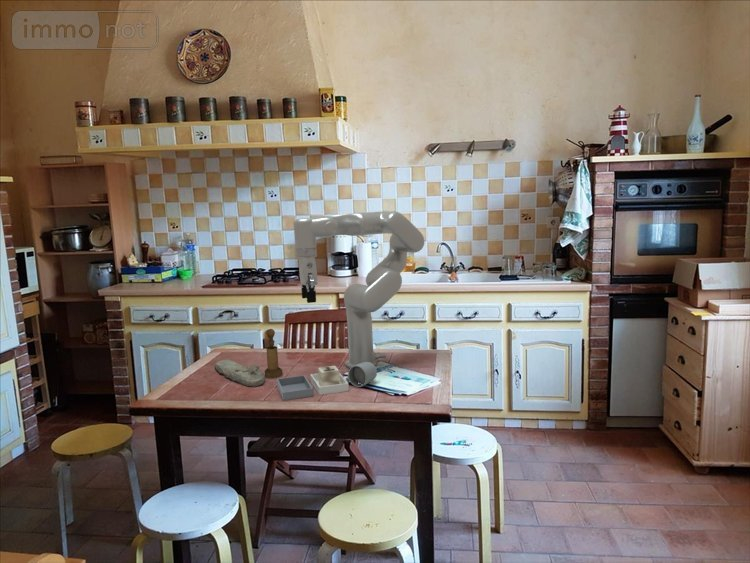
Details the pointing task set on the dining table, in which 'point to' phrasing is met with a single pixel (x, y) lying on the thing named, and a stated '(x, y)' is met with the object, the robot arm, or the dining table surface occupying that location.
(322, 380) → the letter cube
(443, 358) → the dining table surface
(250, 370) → the long grey stone
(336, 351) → the dining table surface
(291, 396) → the tray
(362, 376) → the ceramic mug
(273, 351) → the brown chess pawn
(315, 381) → the tray
